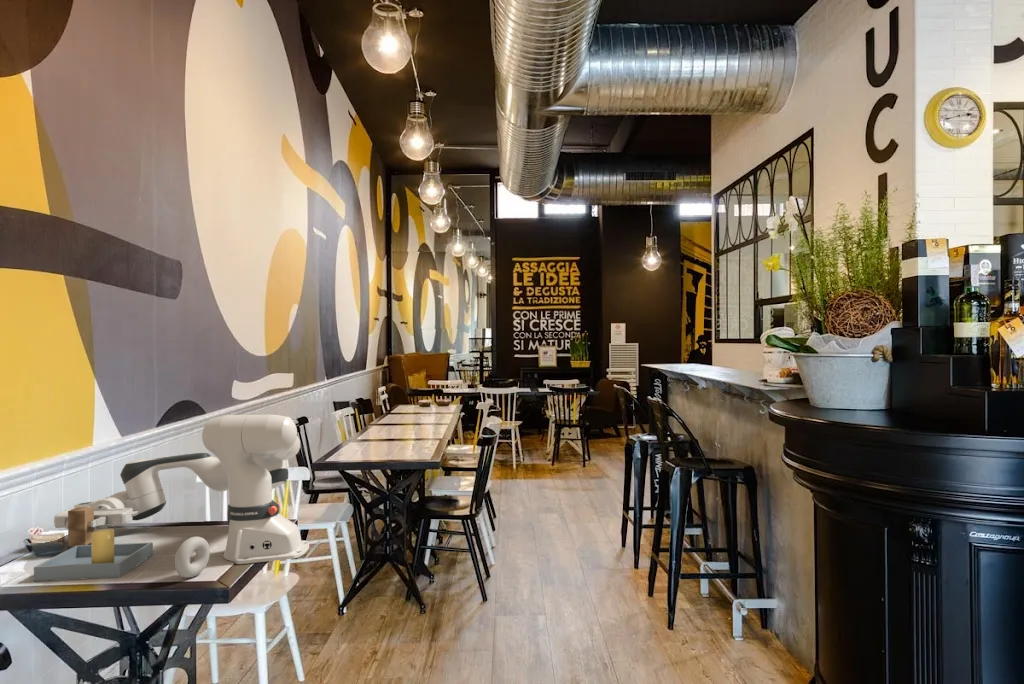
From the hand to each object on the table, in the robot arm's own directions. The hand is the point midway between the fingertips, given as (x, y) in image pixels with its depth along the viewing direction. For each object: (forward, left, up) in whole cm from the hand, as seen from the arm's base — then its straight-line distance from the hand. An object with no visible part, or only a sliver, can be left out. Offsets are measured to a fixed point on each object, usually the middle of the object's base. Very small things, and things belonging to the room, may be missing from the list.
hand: (79, 525), depth 180 cm
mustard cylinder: (-16, +18, -7) cm, 26 cm away
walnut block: (0, -1, -6) cm, 6 cm away
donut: (-41, +25, -8) cm, 49 cm away
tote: (-12, +14, -8) cm, 20 cm away
